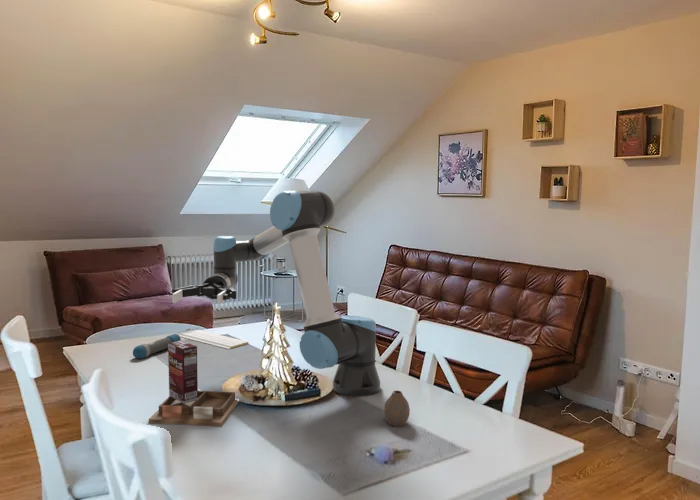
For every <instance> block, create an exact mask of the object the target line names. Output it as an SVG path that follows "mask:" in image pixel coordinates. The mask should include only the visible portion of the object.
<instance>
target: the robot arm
mask: <svg viewBox="0 0 700 500" xmlns="http://www.w3.org/2000/svg"><path fill="white" fill-rule="evenodd" d="M335 210H336V209H335V204H334V200H332V198H331V197H330V196H329V195H328V194H327V193H325V192H322V191H320V190H294V189H293V190H292V189H291V190H284V191H281V192H279V193H278V194H276V196H275V197H274V198H273V199H272V202H271V204H270V209H269V216H270V217H269V218H270V221H271V224H272V226H271V227H270V228H267V229H266V230H264V231H262V232H261V233H259V234H258V235H256V236H254V237H253V238H251V239H248V240H247V239H245V240H237V238H236V237H235V236H232V235H231V236H229V235H227V236H226V235H219V236H216V237H214V242H213V275H211V276H208V277H207V278H206V279H205V280H204V282H203V283H202V284H199V285H196V284H193V283H192V284H190V285H185V286H182V287H176V288H172V289H171V295H172V296H171V298H172V299H171V300H172V301H171V302H172V303H173V304H176V303H177V302H179V301H181V300H183V298H186V297H187V298H188V297H194V296H197V297H204V296H205V297H207V299H211V300H216V304H217V305H220V304H222V303H224V302H225V301H227V300H230V299H232V300H236V299H237V290H236V289H235V287H236V286H237V285H238V282H239V276H238V275H239V274H238V273H237V272H236V268H237V267H236V266H237V265H236V264H237V263H243V262H252V261H261V260H265V259H267V258H268V257H269V255H270V253H272V252H273V251H275V250H277V249H279V248H280V247H283V246H284V245H287V244H288V243H289V247H290V253H291V256H292V259H293V264H294V269H295V273H296V276H297V281H298V287H299V290H300V295H301V299H302V304H303V308H304V313H305V316H306V317H305V318H306V321H305V322H304V324H303V331H304V333H303V334H302V335H301V337H300V340H299V350H300V353H301V356H302V358H303V359H304V361H305V362H306V363H307V364H309V365H310V366H311V367H312V368H314V369H318V370H323V369H326V368H327V369H328V368H333V367H335V366H336V365H338V366H337V368H336V371H335V374H334V377H333V380H332V388H333V387H334V389H333V391H334V392H335V393H338V394H340V395H344V396H349V397H350V396H351V397H365V396H370V395H371V396H372V395H375V394H377V393H379V391H380V390H381V380H380V376H379V373H378V370H377V366H376V345H377V344H376V341H377V339H376V338H377V327H376V321H375V320H374V319H373V318H369V317H365V316H361V315H360V316H358V315H341V316H340V315H339V314H337V313H336V311H335V307H334V304H333V299H332V295H331V291H330V286H329V281H328V278H327V274H326V270H325V266H324V265H325V264H324V262H323V257H322V254H321V248H320V243H319V239H318V235H319V233H320V232H321V229H322V228H325V227H326V226H328V224H330V223H331V222H332V220H333V218H334V216H335Z"/></svg>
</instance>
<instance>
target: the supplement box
mask: <svg viewBox="0 0 700 500" xmlns="http://www.w3.org/2000/svg"><path fill="white" fill-rule="evenodd" d="M167 353H168V356H167V357H168V391H169V392H168V397H169V396H171V397H173V398H175V399H176V400H178V401H180V402H182V403H183V404H185V403H189V402H192V401H196V400H198V391H199V389H198V385H199V384H198V383H199V382H198V346H197V345H193V344H191V343H190V342H187V341H185V340H182V339H181V340H180V341H175V342H170V343H168V351H167Z"/></svg>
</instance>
